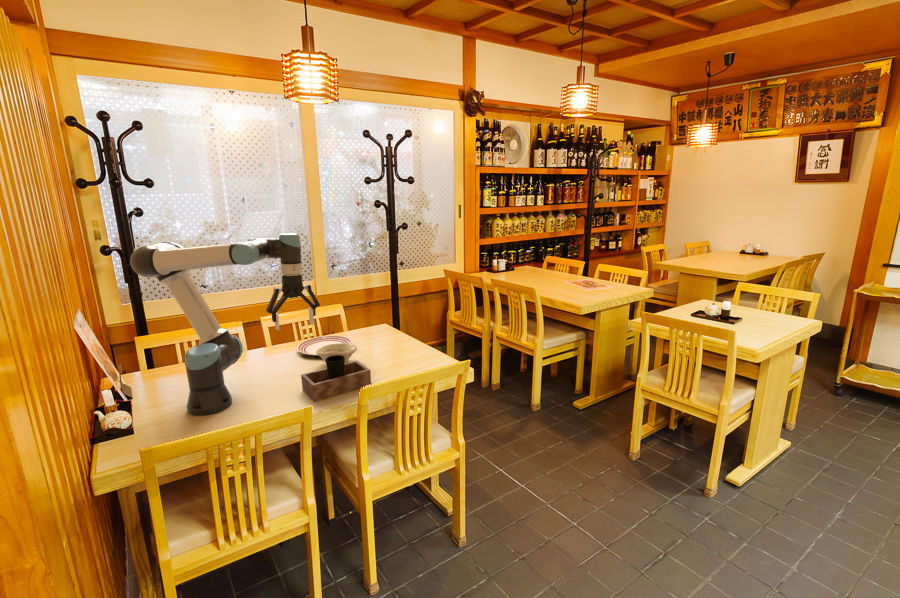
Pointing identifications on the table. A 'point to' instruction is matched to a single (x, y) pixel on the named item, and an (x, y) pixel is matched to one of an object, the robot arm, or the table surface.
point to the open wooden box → (335, 381)
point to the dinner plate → (320, 343)
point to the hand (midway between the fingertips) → (294, 326)
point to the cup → (335, 366)
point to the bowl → (336, 350)
